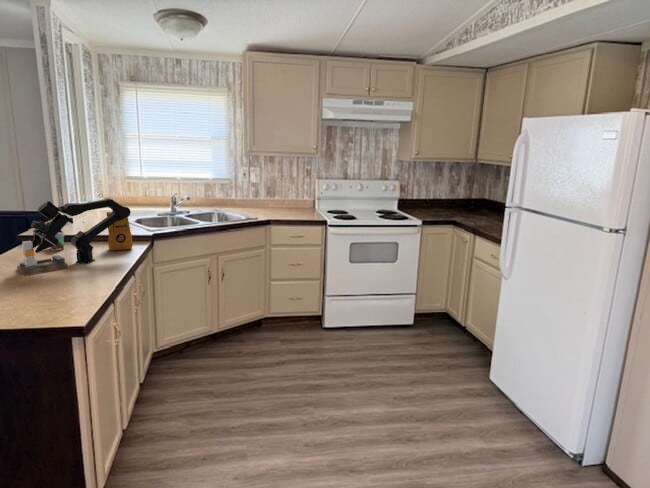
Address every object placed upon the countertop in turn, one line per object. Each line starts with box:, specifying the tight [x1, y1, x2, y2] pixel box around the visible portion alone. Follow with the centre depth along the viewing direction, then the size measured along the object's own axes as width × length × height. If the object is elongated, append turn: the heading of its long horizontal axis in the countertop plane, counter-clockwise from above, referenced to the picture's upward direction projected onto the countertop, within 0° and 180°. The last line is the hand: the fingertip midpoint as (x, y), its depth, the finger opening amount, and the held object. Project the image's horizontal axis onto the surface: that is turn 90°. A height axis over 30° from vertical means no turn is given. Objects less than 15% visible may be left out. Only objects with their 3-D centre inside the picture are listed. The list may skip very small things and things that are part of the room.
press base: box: [16, 255, 69, 276], centre depth 210 cm, size 18×12×4 cm, turn 137°
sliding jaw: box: [22, 240, 38, 267], centre depth 205 cm, size 4×8×12 cm, turn 47°
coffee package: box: [106, 211, 134, 251], centre depth 248 cm, size 10×12×22 cm
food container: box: [50, 230, 65, 253], centre depth 246 cm, size 12×6×10 cm, turn 47°
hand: (32, 250), depth 206 cm, fingers open, 9 cm apart
